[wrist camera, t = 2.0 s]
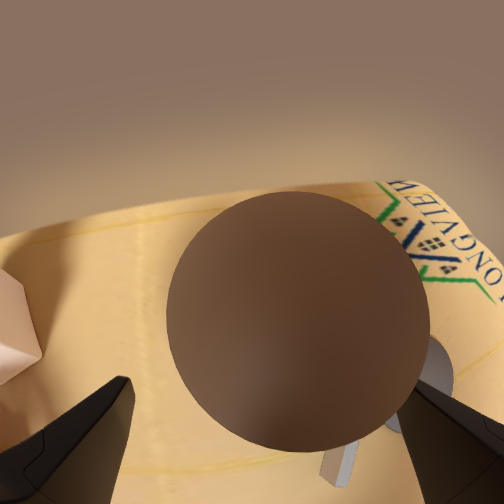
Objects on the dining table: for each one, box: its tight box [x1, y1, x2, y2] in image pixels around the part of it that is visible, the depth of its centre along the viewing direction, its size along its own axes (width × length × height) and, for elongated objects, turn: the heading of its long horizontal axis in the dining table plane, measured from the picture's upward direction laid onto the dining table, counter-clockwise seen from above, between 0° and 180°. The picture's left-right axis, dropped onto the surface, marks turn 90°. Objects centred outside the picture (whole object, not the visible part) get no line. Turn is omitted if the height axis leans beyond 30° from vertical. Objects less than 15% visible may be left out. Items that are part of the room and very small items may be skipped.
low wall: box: [320, 440, 359, 487], centre depth 15 cm, size 14×1×3 cm, turn 168°
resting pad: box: [384, 337, 453, 433], centre depth 16 cm, size 8×8×1 cm
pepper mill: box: [166, 192, 430, 452], centre depth 11 cm, size 5×5×14 cm
